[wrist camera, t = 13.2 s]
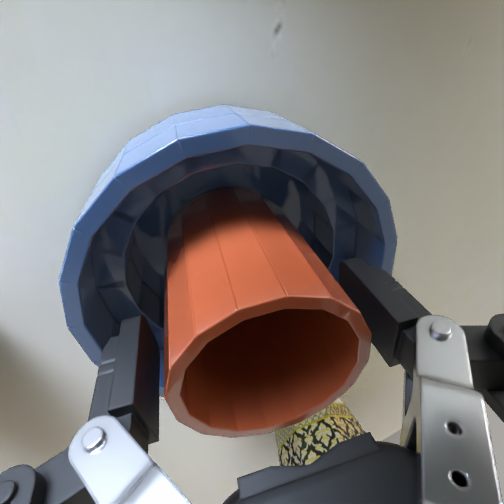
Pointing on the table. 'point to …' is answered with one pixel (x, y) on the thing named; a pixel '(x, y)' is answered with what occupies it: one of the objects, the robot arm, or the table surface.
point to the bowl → (201, 181)
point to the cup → (252, 319)
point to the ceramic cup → (316, 434)
